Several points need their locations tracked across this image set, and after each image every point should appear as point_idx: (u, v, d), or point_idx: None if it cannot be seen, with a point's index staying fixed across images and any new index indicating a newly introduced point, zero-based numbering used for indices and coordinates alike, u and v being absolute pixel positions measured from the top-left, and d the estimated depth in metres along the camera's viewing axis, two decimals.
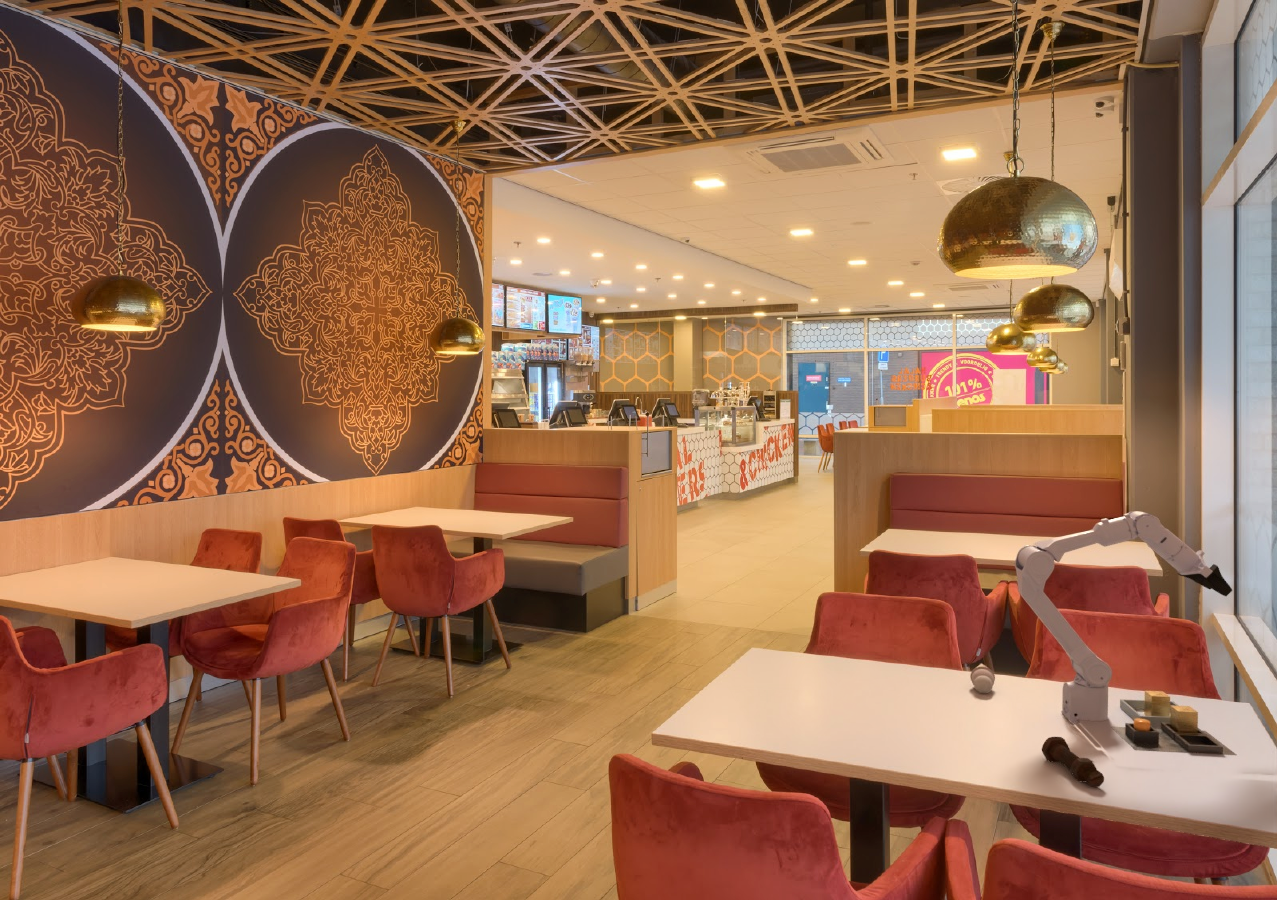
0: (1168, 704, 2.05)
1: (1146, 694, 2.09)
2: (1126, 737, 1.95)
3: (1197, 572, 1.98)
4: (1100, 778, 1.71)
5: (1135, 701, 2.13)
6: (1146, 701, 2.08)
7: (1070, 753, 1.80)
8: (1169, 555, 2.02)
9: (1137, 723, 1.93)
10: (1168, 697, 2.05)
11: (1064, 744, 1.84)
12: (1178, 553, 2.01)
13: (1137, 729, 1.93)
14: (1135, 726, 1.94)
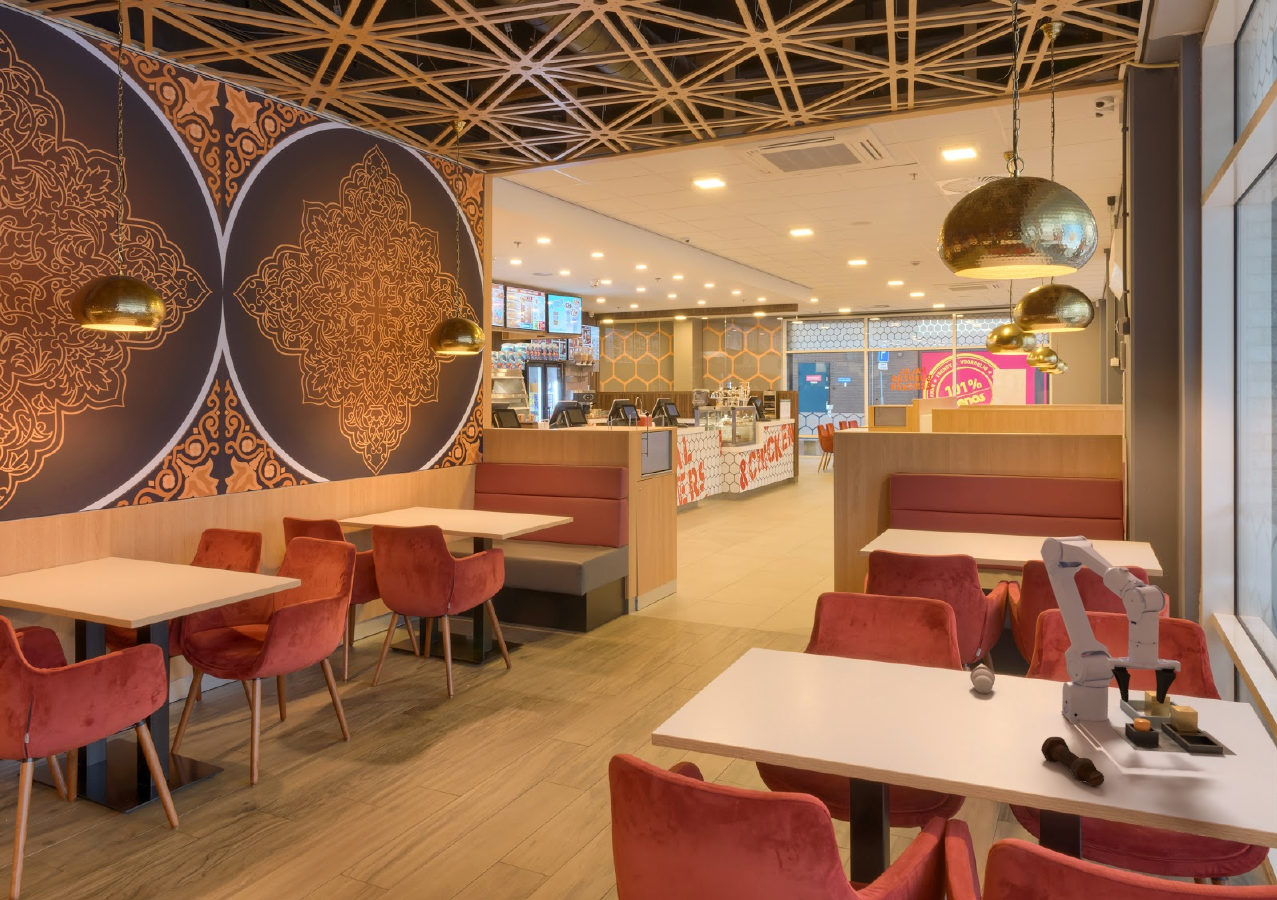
0: (1168, 704, 2.05)
1: (1146, 694, 2.09)
2: (1126, 737, 1.95)
3: None
4: (1100, 777, 1.71)
5: (1135, 701, 2.13)
6: (1146, 701, 2.08)
7: (1070, 753, 1.80)
8: None
9: (1137, 723, 1.93)
10: (1168, 697, 2.05)
11: (1064, 744, 1.84)
12: (1129, 640, 1.94)
13: (1137, 729, 1.93)
14: (1135, 726, 1.94)
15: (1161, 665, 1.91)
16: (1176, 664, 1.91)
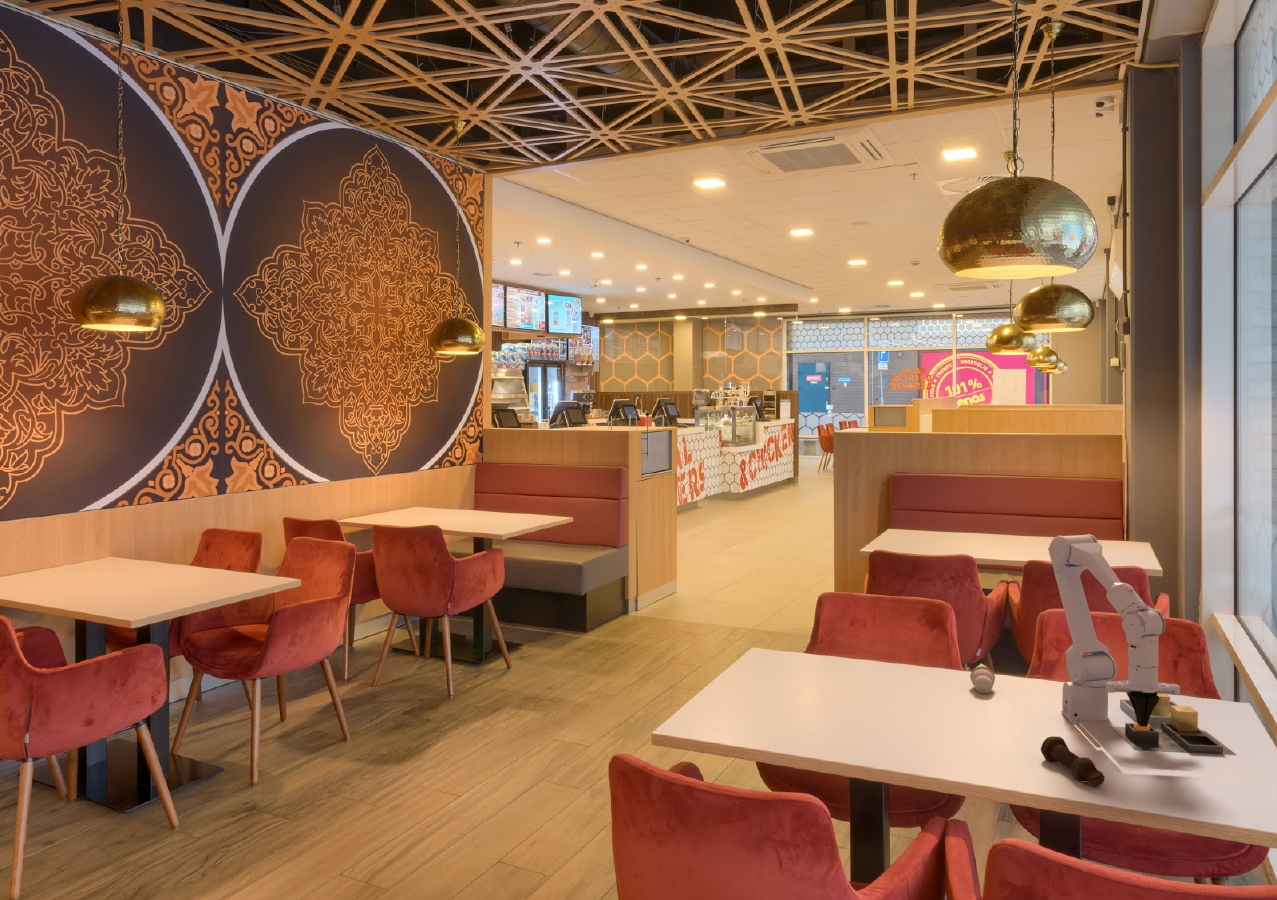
0: (1168, 704, 2.05)
1: None
2: (1126, 737, 1.95)
3: None
4: (1100, 777, 1.71)
5: None
6: None
7: (1069, 753, 1.80)
8: (1128, 659, 1.94)
9: (1137, 726, 1.93)
10: (1168, 697, 2.05)
11: (1063, 744, 1.84)
12: (1128, 664, 1.94)
13: None
14: None
15: (1161, 689, 1.91)
16: (1176, 688, 1.91)
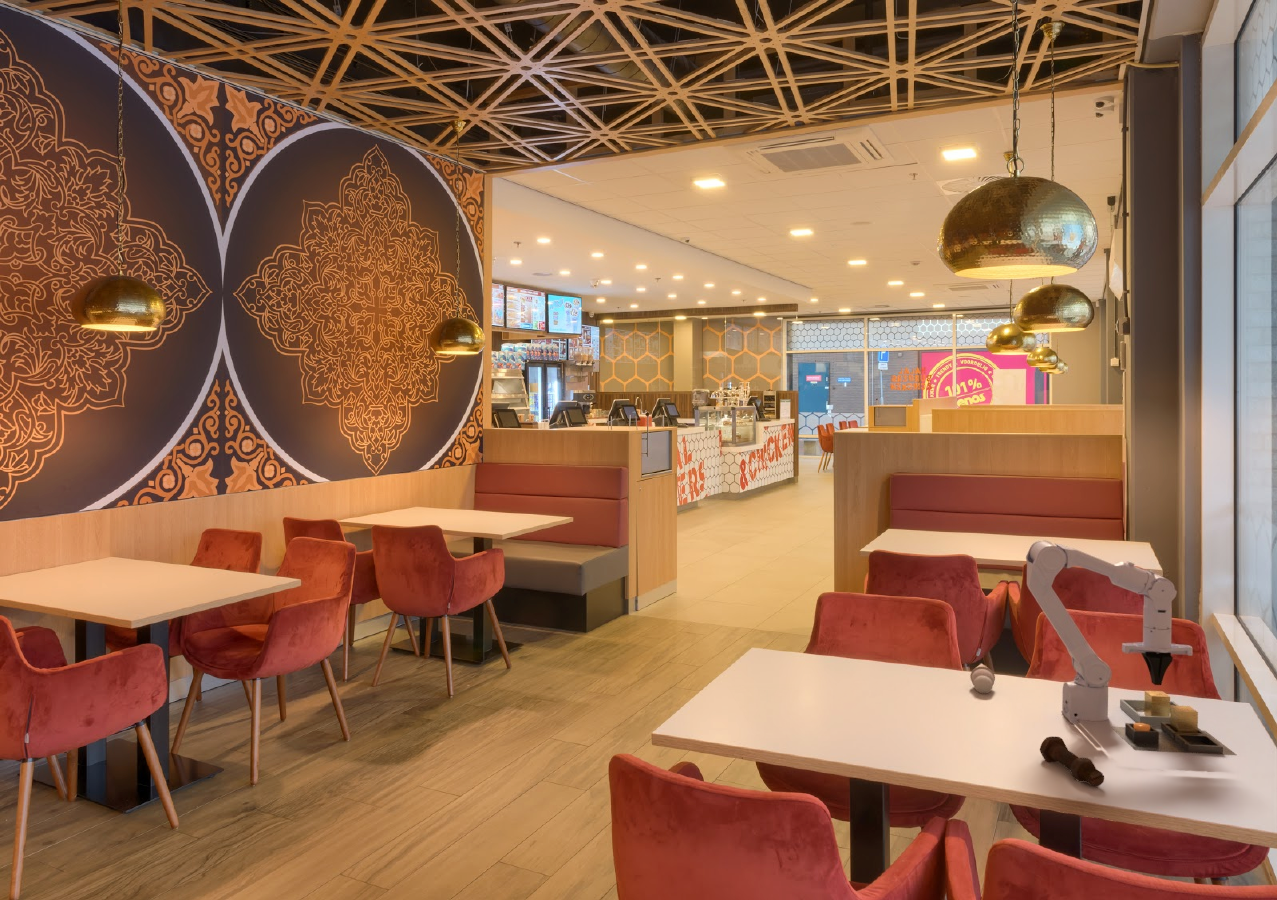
0: (1168, 704, 2.05)
1: (1146, 694, 2.09)
2: (1126, 737, 1.95)
3: None
4: (1100, 777, 1.71)
5: (1135, 701, 2.13)
6: (1146, 701, 2.08)
7: (1069, 753, 1.80)
8: (1152, 625, 2.03)
9: (1137, 727, 1.93)
10: (1168, 697, 2.05)
11: (1062, 744, 1.84)
12: (1143, 626, 2.05)
13: None
14: None
15: (1174, 649, 2.02)
16: (1188, 648, 2.03)
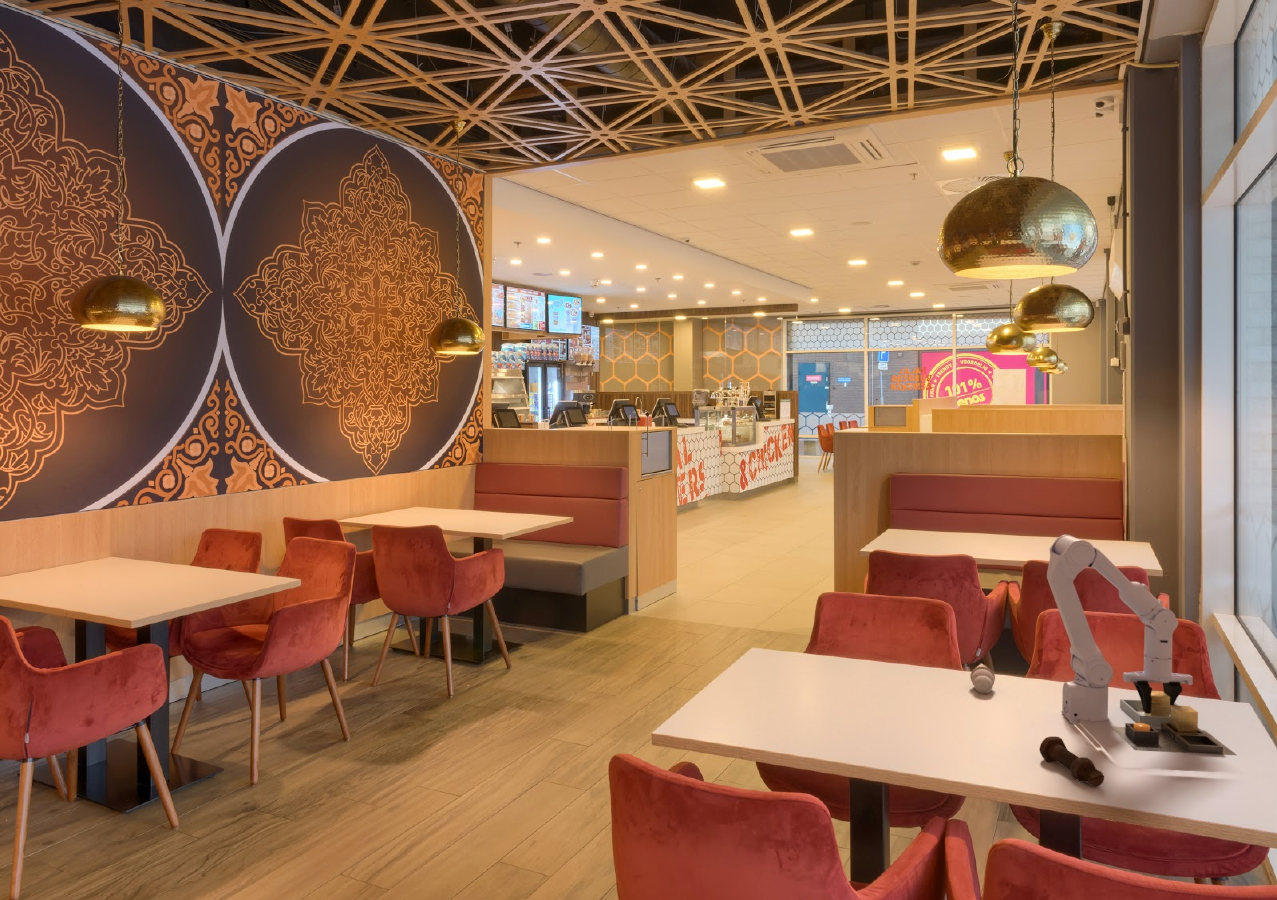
0: (1168, 704, 2.05)
1: None
2: (1126, 737, 1.95)
3: None
4: (1100, 777, 1.71)
5: (1135, 701, 2.13)
6: None
7: (1069, 753, 1.80)
8: (1154, 655, 2.05)
9: (1137, 727, 1.93)
10: (1168, 697, 2.05)
11: (1061, 744, 1.85)
12: (1144, 656, 2.07)
13: None
14: None
15: (1174, 679, 2.04)
16: (1188, 678, 2.05)
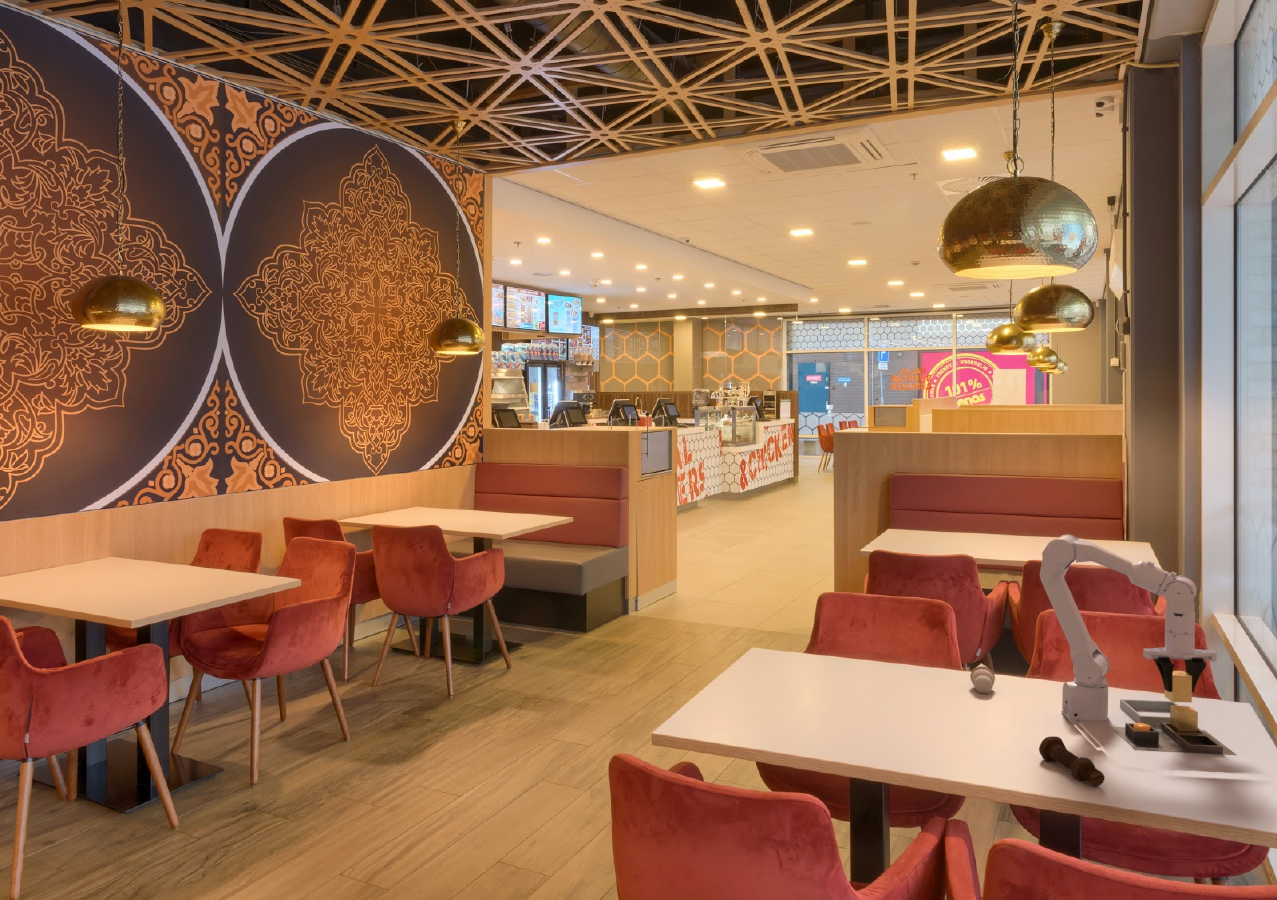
0: (1190, 684, 1.95)
1: None
2: (1126, 737, 1.95)
3: None
4: (1100, 777, 1.72)
5: (1135, 701, 2.13)
6: None
7: (1068, 753, 1.80)
8: (1169, 628, 1.96)
9: (1137, 727, 1.93)
10: (1190, 676, 1.95)
11: (1061, 744, 1.85)
12: (1165, 631, 1.97)
13: None
14: None
15: (1198, 655, 1.94)
16: (1212, 654, 1.95)
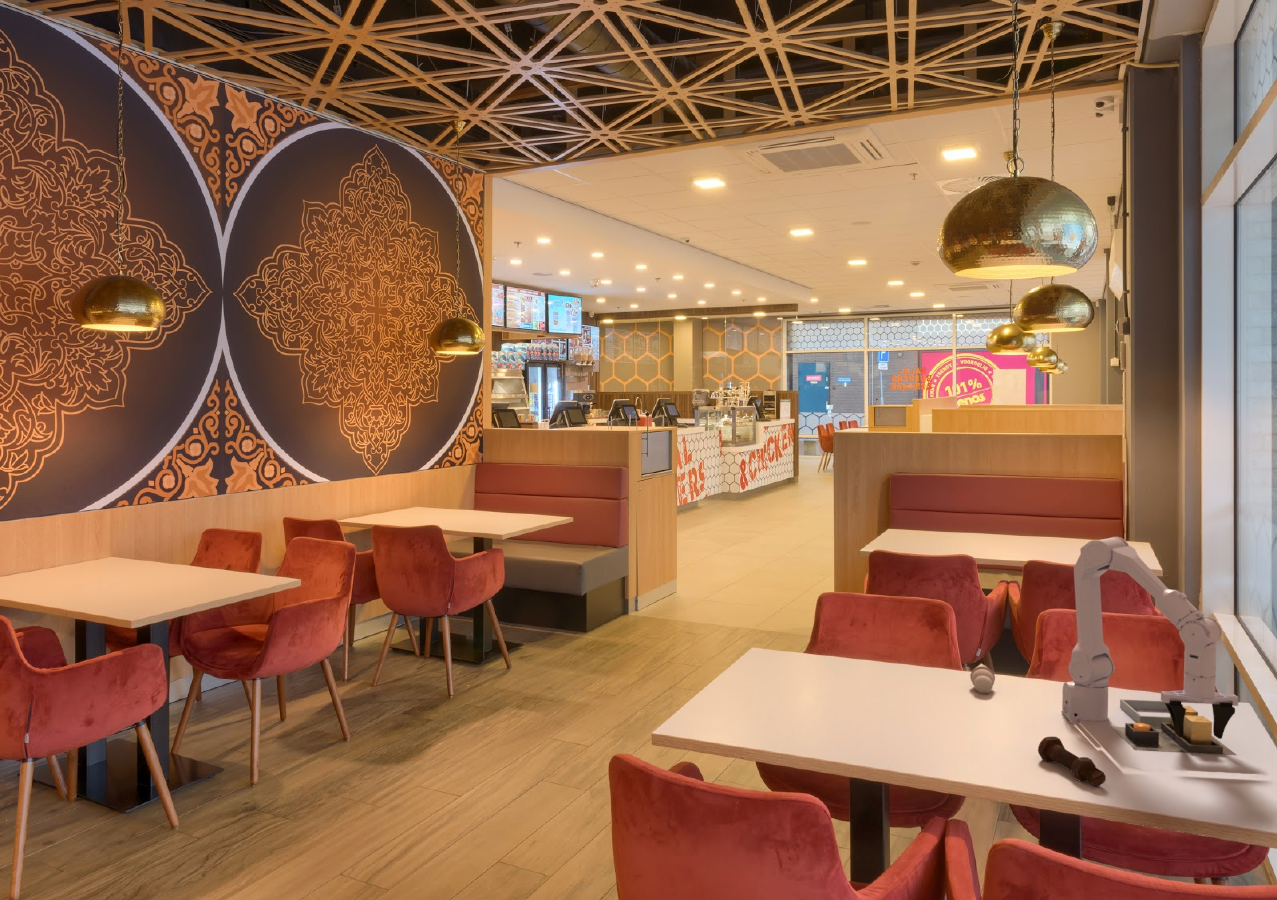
0: (1210, 730, 1.87)
1: (1185, 718, 1.91)
2: (1126, 737, 1.95)
3: None
4: (1102, 777, 1.72)
5: (1135, 701, 2.13)
6: (1185, 727, 1.91)
7: (1068, 753, 1.80)
8: (1185, 670, 1.88)
9: (1137, 727, 1.93)
10: (1210, 723, 1.87)
11: (1059, 744, 1.85)
12: (1185, 673, 1.89)
13: None
14: None
15: (1218, 699, 1.86)
16: (1234, 698, 1.86)
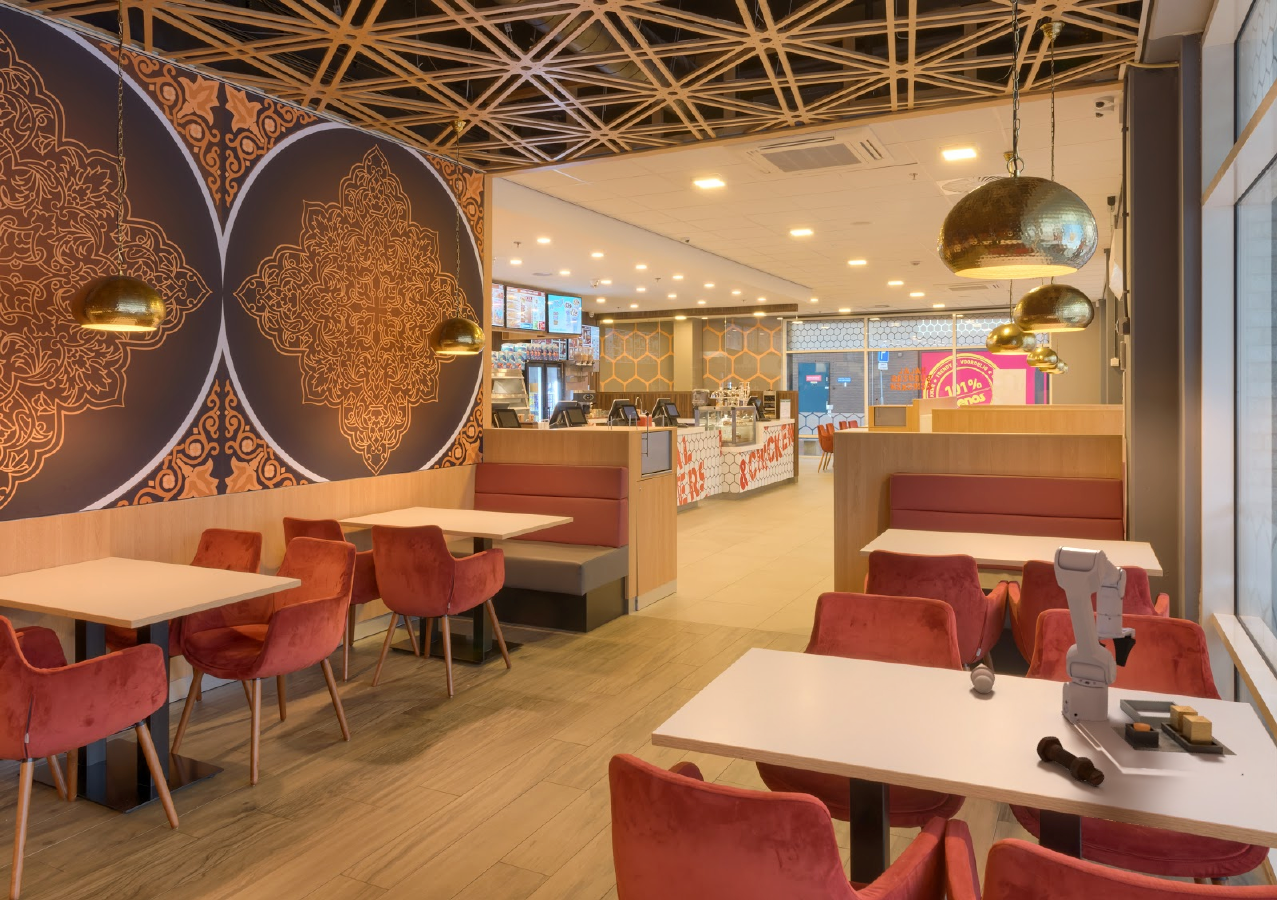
0: (1210, 730, 1.87)
1: (1185, 718, 1.91)
2: (1126, 737, 1.95)
3: None
4: (1101, 776, 1.72)
5: (1135, 701, 2.13)
6: (1185, 727, 1.91)
7: (1067, 752, 1.80)
8: (1117, 613, 2.15)
9: (1137, 727, 1.93)
10: (1210, 723, 1.87)
11: (1058, 743, 1.85)
12: (1099, 614, 2.18)
13: None
14: None
15: (1125, 633, 2.17)
16: (1132, 631, 2.19)
